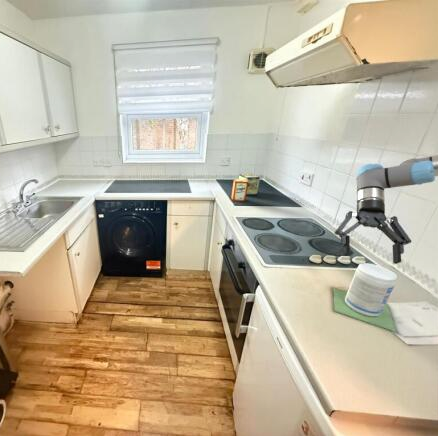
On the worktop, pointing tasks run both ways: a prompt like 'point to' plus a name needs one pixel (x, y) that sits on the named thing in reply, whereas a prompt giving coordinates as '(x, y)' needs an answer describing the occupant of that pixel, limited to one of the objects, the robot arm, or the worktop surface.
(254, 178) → the protein box
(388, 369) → the worktop surface
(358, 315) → the mat
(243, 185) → the baking soda box
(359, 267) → the supplement tub
